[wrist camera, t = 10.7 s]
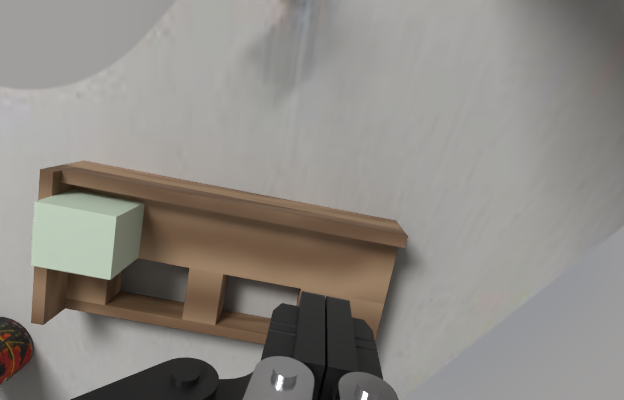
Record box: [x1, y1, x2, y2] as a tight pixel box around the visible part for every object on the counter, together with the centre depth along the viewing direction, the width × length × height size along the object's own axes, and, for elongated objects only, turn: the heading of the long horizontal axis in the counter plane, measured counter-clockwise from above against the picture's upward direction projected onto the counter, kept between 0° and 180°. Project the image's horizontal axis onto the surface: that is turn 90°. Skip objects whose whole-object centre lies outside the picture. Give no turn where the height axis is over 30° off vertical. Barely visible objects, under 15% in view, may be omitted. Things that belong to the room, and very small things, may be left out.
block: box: [31, 189, 145, 280], centre depth 33 cm, size 5×6×5 cm
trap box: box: [31, 161, 408, 344], centre depth 36 cm, size 13×29×6 cm, turn 79°
